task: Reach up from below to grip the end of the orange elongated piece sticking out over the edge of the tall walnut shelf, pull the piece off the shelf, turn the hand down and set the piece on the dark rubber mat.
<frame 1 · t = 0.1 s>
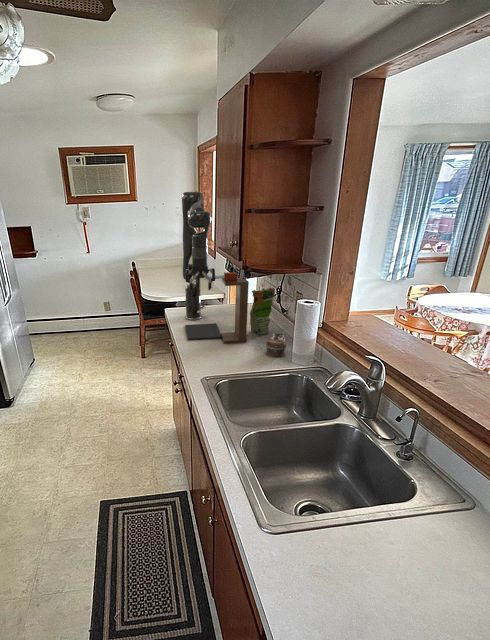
hand: (200, 290, 190), 29 cm above the counter, tool pointing down, fingers open, 8 cm apart
pouch: (260, 332, 217), on the counter
cupcake: (275, 354, 190), on the counter
orange elongated piece: (224, 280, 196), point 32 cm above the counter, touching shelf
mat: (202, 332, 220), on the counter
shelf: (233, 338, 209), on the counter
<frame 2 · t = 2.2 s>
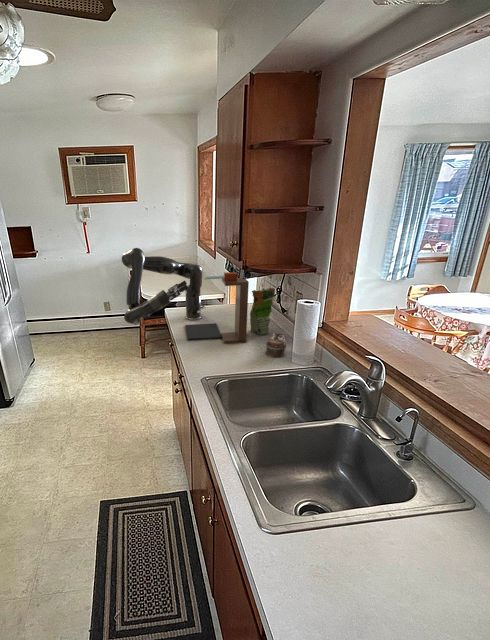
hand: (186, 284, 196), 31 cm above the counter, tool pointing upward, fingers open, 8 cm apart
nothing on the counter moved.
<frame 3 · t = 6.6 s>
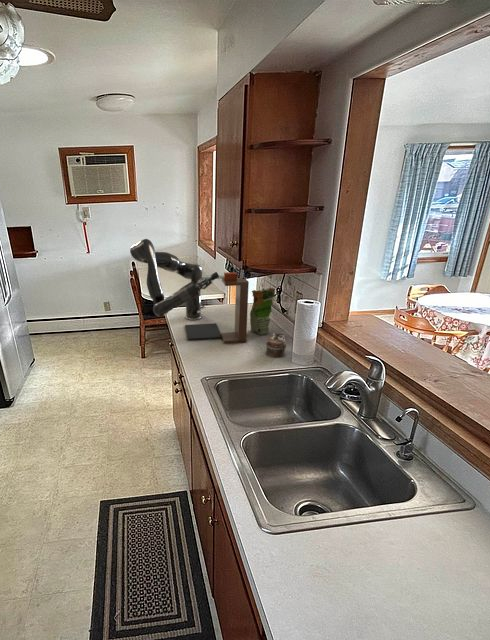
hand: (217, 274, 194), 35 cm above the counter, tool pointing upward, fingers closed on orange elongated piece
orange elongated piece: (224, 280, 196), point 32 cm above the counter, touching gripper, shelf
everything else where it was.
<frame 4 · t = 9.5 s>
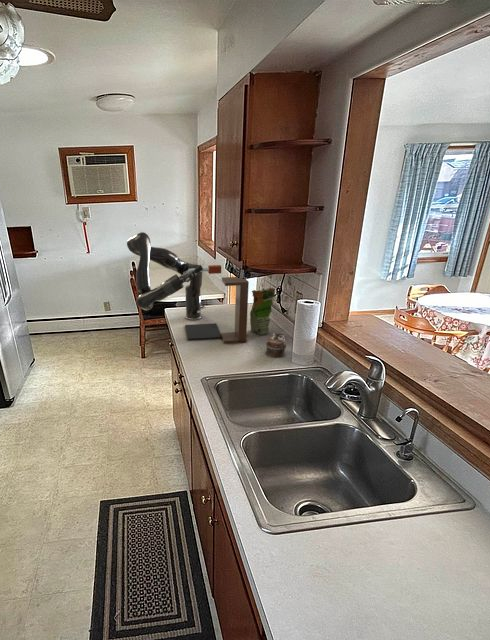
hand: (201, 266, 192), 39 cm above the counter, tool pointing upward, fingers closed on orange elongated piece
orange elongated piece: (208, 273, 194), point 36 cm above the counter, touching gripper
everything else where it was.
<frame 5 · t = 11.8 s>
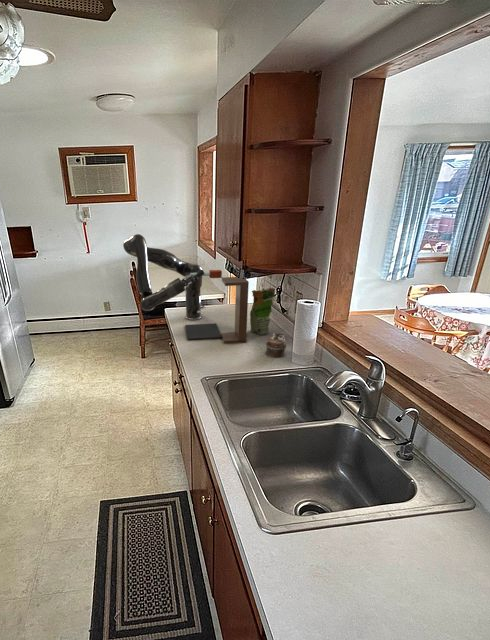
hand: (203, 271, 202), 35 cm above the counter, tool pointing upward, fingers closed on orange elongated piece
orange elongated piece: (209, 277, 203), point 32 cm above the counter, touching gripper
everything else where it was.
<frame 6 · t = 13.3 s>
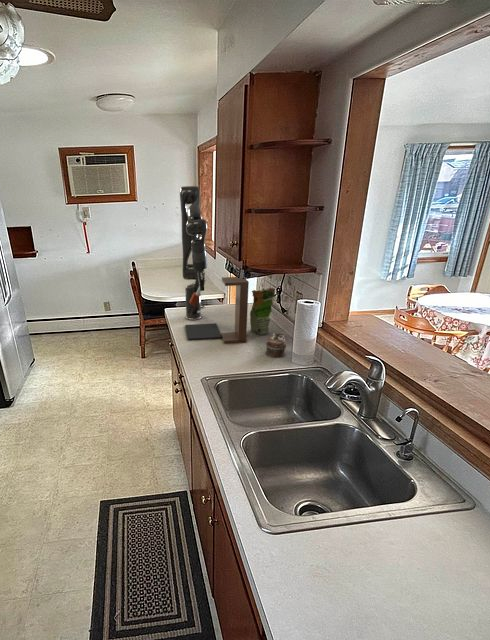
hand: (202, 289, 212), 24 cm above the counter, tool pointing down, fingers closed on orange elongated piece
orange elongated piece: (194, 293, 213), point 22 cm above the counter, tilted 114°, touching gripper
everything else where it was.
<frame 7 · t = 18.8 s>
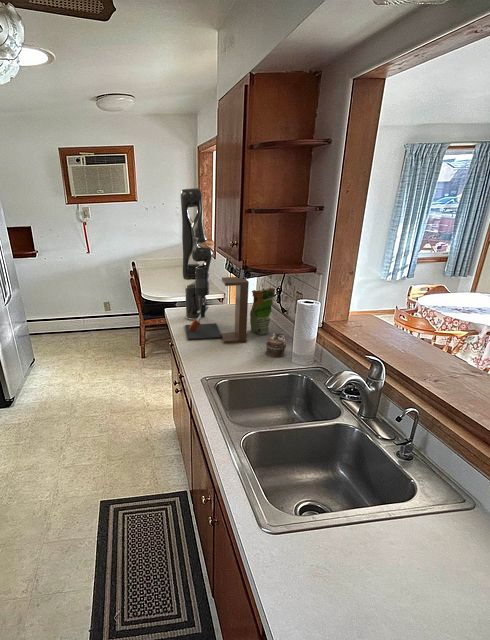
hand: (202, 316, 216), 9 cm above the counter, tool pointing down, fingers closed
orange elongated piece: (195, 319, 216), point 8 cm above the counter, tilted 125°, touching mat
everything else where it was.
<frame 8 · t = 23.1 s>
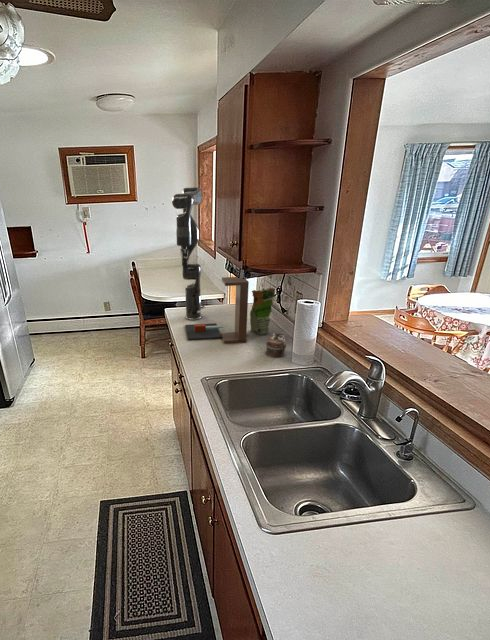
hand: (184, 267, 208), 36 cm above the counter, tool pointing down, fingers open, 8 cm apart
orange elongated piece: (205, 324, 218), point 4 cm above the counter, tilted 180°, touching mat
everything else where it was.
at the end: orange elongated piece inside the target area on the mat (1.5 cm from its centre), point 4.4 cm above the mat's base; the gripper is holding nothing; orange elongated piece point 4.4 cm above the counter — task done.
